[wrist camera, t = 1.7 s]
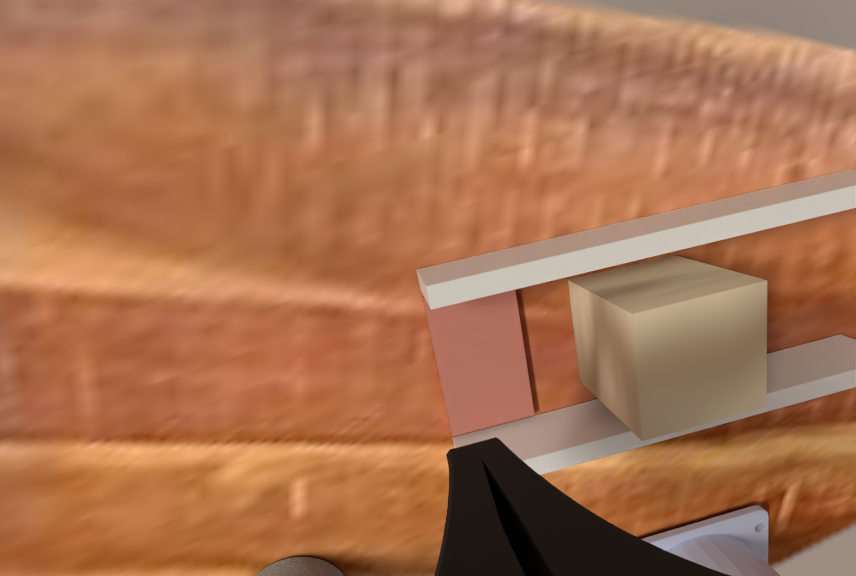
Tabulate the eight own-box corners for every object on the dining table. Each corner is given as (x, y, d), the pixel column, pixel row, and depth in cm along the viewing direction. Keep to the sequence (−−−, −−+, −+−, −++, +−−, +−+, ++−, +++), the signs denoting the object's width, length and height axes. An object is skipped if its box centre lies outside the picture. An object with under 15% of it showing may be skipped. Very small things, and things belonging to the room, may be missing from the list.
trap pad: (532, 411, 19) (534, 414, 19) (451, 432, 19) (452, 436, 19) (511, 275, 18) (513, 277, 17) (422, 296, 17) (423, 298, 17)
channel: (839, 350, 21) (901, 374, 18) (455, 453, 19) (469, 494, 17) (849, 169, 19) (921, 169, 16) (416, 269, 17) (425, 286, 15)
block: (677, 354, 20) (766, 406, 16) (579, 380, 19) (642, 441, 15) (672, 254, 19) (767, 280, 14) (567, 279, 18) (632, 314, 14)
